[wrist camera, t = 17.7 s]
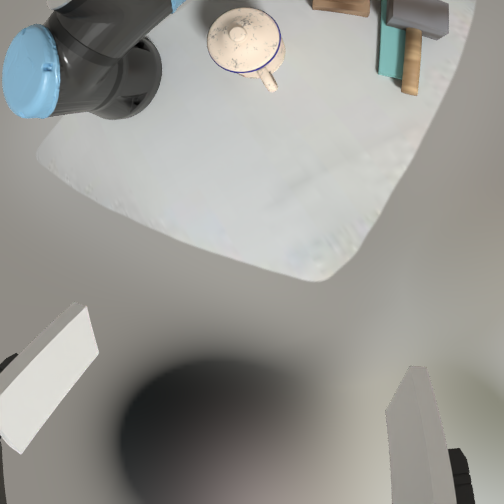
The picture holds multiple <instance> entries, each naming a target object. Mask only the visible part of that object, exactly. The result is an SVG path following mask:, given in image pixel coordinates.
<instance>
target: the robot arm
mask: <svg viewBox="0 0 504 504" xmlns="http://www.w3.org/2000/svg"><path fill="white" fill-rule="evenodd" d="M185 1H186V0H46V2H47V7H48V8H50V9H51V10H54V12H53V13H52V14H51V16H50V17H49V18H48V20H47V21H46V22H45V23H44V24H43V25H41V24H34V25H31V26H29V27H27V28H24V29H23V30H21V31H20V32H19V33H18V34H17V35H16V37H15V38H14V39H13V41H12V42H11V44H10V46H9V48H8V51H7V53H6V57H5V60H4V65H3V72H2V74H3V78H2V85H3V92H4V96H5V99H6V101H7V104H8V106H9V107H10V109H11V110H12V111H13V112H14V113H15V114H16V115H18V116H20V117H22V118H42V119H44V118H47V117H51V116H58V115H65V114H72V113H80V112H90V113H92V114H95V115H97V116H99V117H101V118H104V119H109V120H117V119H125V118H129V117H132V116H134V115H136V114H138V113H139V112H141V111H142V110H143V109H145V108H146V107H147V106H148V104H149V103H150V102H151V101H152V99H153V98H154V96H155V94H156V92H157V90H158V88H159V85H160V81H161V76H162V63H161V58H160V55H159V53H158V51H157V49H156V48H155V46H154V45H153V44H152V43H151V42H150V41H149V40H147V39H145V38H143V37H144V36H145V35H146V34H148V33H149V32H150V31H151V30H152V29H153V28H154V27H155V26H156V25H158V24H159V23H160V22H161V21H162V20H163V19H165V18H166V17H167V16H168V15H169V14H173V13H174V12H175V11H176V9H177V8H178V7H179V6H180V5H181V4H182V3H183V2H185ZM98 354H99V351H98V347H97V344H96V341H95V337H94V333H93V329H92V325H91V321H90V317H89V313H88V309H87V306H85V305H82V304H79V303H76V302H73V303H72V304H71V305H70V306H69V307H68V308H67V309H66V310H65V311H63V312H62V313H61V314H60V315H59V316H58V317H57V318H56V319H55V320H54V321H53V322H52V323H50V324H49V325H48V326H47V327H46V328H45V329H44V330H43V331H42V332H41V333H40V334H39V335H38V336H37V337H36V338H35V339H34V340H33V341H32V342H31V343H30V344H29V345H28V346H27V347H26V348H25V349H24V350H23V351H22V352H21V353H20V354H17V353H15V354H13V355H12V356H10V357H8V358H6V359H5V360H4V361H3V362H2V363H1V364H0V439H1V437H2V438H3V439H4V440H5V442H6V443H7V444H8V445H9V446H10V447H11V448H13V449H14V450H16V451H17V452H18V453H20V454H22V453H23V451H24V450H25V449H26V447H27V446H28V444H29V443H30V442H31V440H32V439H33V438H34V436H35V435H36V434H37V432H38V431H39V429H40V428H41V427H42V425H43V424H44V423H45V421H46V420H47V419H48V417H49V416H50V415H51V413H52V412H53V411H54V410H55V408H56V407H57V406H58V404H59V403H60V402H61V400H62V399H63V398H64V397H65V395H66V394H67V393H68V391H69V390H70V389H71V388H72V386H73V385H74V384H75V382H76V381H77V380H78V379H79V378H80V376H81V375H82V374H83V373H84V371H85V370H86V369H87V368H88V366H89V365H90V364H91V363H92V361H93V360H94V359H95V357H96V356H97V355H98ZM385 413H386V422H387V431H388V442H389V454H390V468H391V486H392V487H391V489H392V504H475V500H474V494H473V488H472V485H471V477H470V475H469V467H468V463H467V459H466V457H465V456H464V454H463V453H462V451H461V450H460V448H457V449H447V444H446V439H445V434H444V430H443V426H442V421H441V417H440V413H439V409H438V406H437V401H436V398H435V394H434V390H433V387H432V383H431V380H430V376H429V373H428V369H427V367H420V366H409V368H408V370H407V372H406V374H405V376H404V378H403V380H402V382H401V384H400V385H399V387H398V389H397V391H396V393H395V394H394V396H393V398H392V400H391V402H390V403H389V405H388V407H387V409H386V410H385ZM2 464H3V463H2V446H1V442H0V504H7V503H6V497H5V488H4V477H3V465H2Z"/></svg>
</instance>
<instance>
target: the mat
mask: <svg viewBox="0 0 504 504" xmlns="http://www.w3.org/2000/svg"><path fill="white" fill-rule="evenodd" d="M386 8H387V0H381V31H380V52H379V68H378V74H379V75H384V76H388V77H393V78H397V79H401V80H402V77H403V65H404V53H405V37H406V31H405V30H401V29H397V28H394V27H390V26H386Z"/></svg>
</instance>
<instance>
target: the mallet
mask: <svg viewBox="0 0 504 504" xmlns="http://www.w3.org/2000/svg"><path fill="white" fill-rule="evenodd" d="M386 26H390V27H394V28H397V29H401V30H405V31H406V37H405V53H404V65H403V77H402V86H401V92H402V93H405V94H409V95H414V96H417V94H418V84H419V74H420V61H421V46H422V36H425V37H428V38H431V39H434V40H438V39H440V38H441V37H443V36H445V35H447V34H448V33H449V4H448V3H445V2H443V1H440V0H387V8H386Z"/></svg>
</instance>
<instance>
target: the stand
mask: <svg viewBox="0 0 504 504" xmlns="http://www.w3.org/2000/svg"><path fill="white" fill-rule="evenodd" d="M312 6H313V10H322V11H331V12H338V13H345V14H351V15H357V16H363V17H368V15H369V14H370V0H313V5H312Z"/></svg>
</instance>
